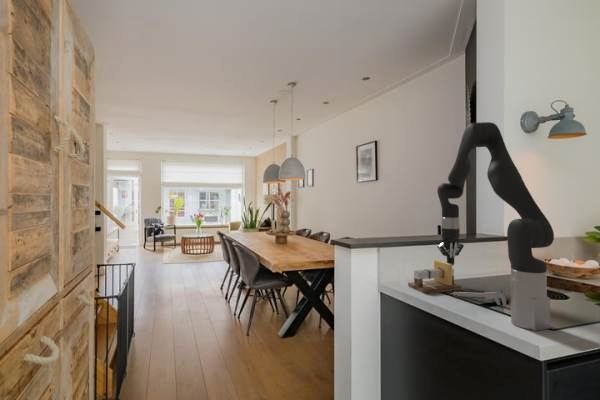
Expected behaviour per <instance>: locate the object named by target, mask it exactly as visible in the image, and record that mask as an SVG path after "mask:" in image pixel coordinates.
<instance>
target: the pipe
mask: <svg viewBox="0 0 600 400" xmlns="http://www.w3.org/2000/svg"><path fill="white" fill-rule="evenodd" d="M413 276H414V277H413V278H416V279H423V280H427V279H429V280H430V279H434V278H438V277H444V269H442V268H440V269H434V268H431V269H420V270H419V269H417V270H414V271H413ZM452 276H454V277H455V268H452Z"/></svg>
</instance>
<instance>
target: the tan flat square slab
mask: <svg viewBox="0 0 600 400" xmlns="http://www.w3.org/2000/svg"><path fill="white" fill-rule="evenodd" d="M433 263H434V264H433V265H434V266H433V269H440V268H442V269H444V277H438V278H433V279H434V280H435V281H437V282H440V283H443V284H445V285H448V286H449V285H452V269H453V266H452V264H449V263H447V261H442V260H439V259H438V260H437V259H436V260H434V262H433Z"/></svg>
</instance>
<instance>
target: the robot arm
mask: <svg viewBox="0 0 600 400" xmlns="http://www.w3.org/2000/svg"><path fill="white" fill-rule="evenodd" d="M461 136H462V138H461V140H460V144H459V148H458V152H457V154H456V155H457V156H456V158H455V161H454V163H453V166H452V168H451V170H450V172H449V173H448V176H447V180H448V182H445V183H444V182H443V183H442V182H441V184H439V185H438V187H437V189H436V190H437V196H438V199H439V203H440V205H441V222H440V223H441V225H440V226H441V229H440V230H441V239H442V240H441V243H440V244H437V247H436V248H437V249H438V250H439V252H440V253H441V254H442V256H444V257H446V263H449V264H452V267H453V266H454V265H455V257H457V256H459V255H460V253H461V251H462V250H463V248H464V246H465V244H462V243H461V242H460V236H461V235H460V233H461V232H460V231H461V230H460V228H461V227H460V225H461V224H460V207H459V205H458V204H455V203H451V202H450V200H449V199H451V200H454V199H460V198H461V197H462V196H463V194H464V189H465V184H466V181H467V179H468V177H469V175H470V173H471V170H472V163H471V159H470V152H471V151H472V150H473V148H486V149H487V150H488V152H489V154H490V158H491V159H490V162H489V165H488V168H487V173H486V174H487V180H488V182H489V183H490V186H491V188H492V190H493V192H494V193H495V194H496V195H497V196H498V197H499V198H500V199H501V200H503V201H504V202H505V203H506V204H508V205H509V206H510V207H511V208H512V209H514V211H516V213H517V214H518V216H520V218H514V219H512V220H511V221H510V222H509V223H508V227H507V231H506V233H507V234H506V236H507V237H506V238H507V253H508V259H509V263H510V317H511V319H510V322H511V323H512V324H513V325H515V326H517V327H520V328H523V329H528V330H532V331H534V332H536V331H542V330H543V331H544V330H549V329H551V297H549V296H548V295H547V294H548V292H547V285H548V284H547V281H548V280H547V279H548V278H547V275H548V273H547V269H548V267H547V263H546V261H544V260H541V259H538V258H536V257H535V256H534V255H533V250H532V249H540V248H541V249H543V248H548V247H550V246H551V245H552V244H553V243H554V239H555V234H554V233H555V232H554V230H553V227H552V225H551V222H550V221H549V220H548V218H547V217H546V215H545V214H544V212H543V211H542V210H541V208H540V207H539V206H538V204H537V203H536V201H535V199H534V198H533V196H532V194H531V193H530V191H529V189H528V188H527V186H526V184H525V181H524V180H523V177H522V175H521V173H520V172H519V170H518V168H517V166H516V165H515V163H514V160H513V159H512V157H511V155H510V153H509V151H508V148H507V145H506V143H505V141H504V138H503V135H502V133H501V131H500V129H499V127H498V125H497V123H494V122H491V121H490V122H485V121H484V122H472V123H469V124H468V125H467V126H466V127H465V129H464V130H463V134H462V135H461Z"/></svg>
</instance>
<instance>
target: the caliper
mask: <svg viewBox="0 0 600 400" xmlns="http://www.w3.org/2000/svg"><path fill="white" fill-rule="evenodd" d="M505 293H506V292H504V291H503V290H502V289H500V290H499V289H496V291H484V292H465V291H464V292H463V291H452V293H450V295H451V294H453V296H455V295H457V296H456V297H468V298H470V297H472V298H484V300H486V301H487V300H494V301H495V302H496V305H497V306H498V305H501V302H502V305H503V306H504V307H503V308H505V307H507V297H506V294H505ZM500 299H501V300H500ZM502 305H501V306H502Z"/></svg>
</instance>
